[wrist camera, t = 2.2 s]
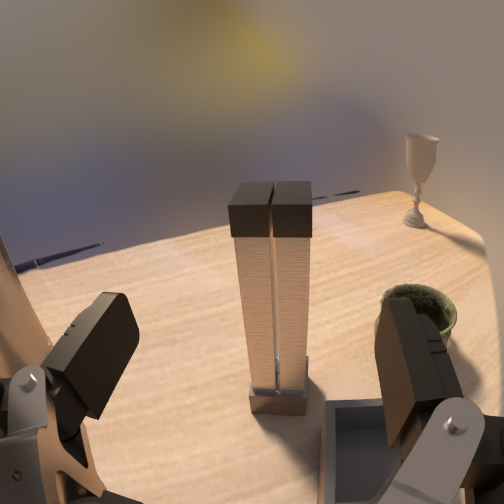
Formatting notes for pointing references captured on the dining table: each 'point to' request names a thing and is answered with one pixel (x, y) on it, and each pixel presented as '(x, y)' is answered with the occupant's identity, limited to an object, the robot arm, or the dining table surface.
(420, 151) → the chalice
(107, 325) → the robot arm
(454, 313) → the vessel
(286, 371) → the split metal pillar
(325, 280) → the dining table surface
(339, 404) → the grey open storage bin
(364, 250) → the dining table surface
